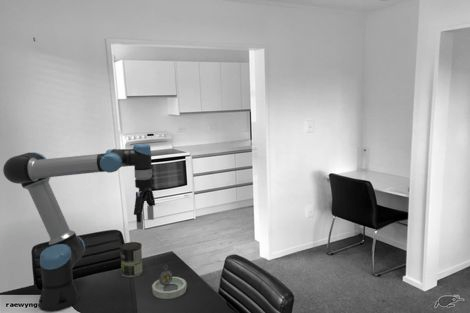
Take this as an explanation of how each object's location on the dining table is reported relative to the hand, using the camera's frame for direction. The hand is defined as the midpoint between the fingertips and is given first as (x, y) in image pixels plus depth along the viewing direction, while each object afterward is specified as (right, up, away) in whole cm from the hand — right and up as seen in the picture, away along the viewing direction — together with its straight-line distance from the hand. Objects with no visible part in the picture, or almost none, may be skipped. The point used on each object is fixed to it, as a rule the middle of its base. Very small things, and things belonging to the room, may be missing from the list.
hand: (145, 224), depth 168 cm
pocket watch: (+11, -28, -3) cm, 31 cm away
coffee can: (-10, -27, +15) cm, 33 cm away
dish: (+12, -29, -4) cm, 32 cm away
